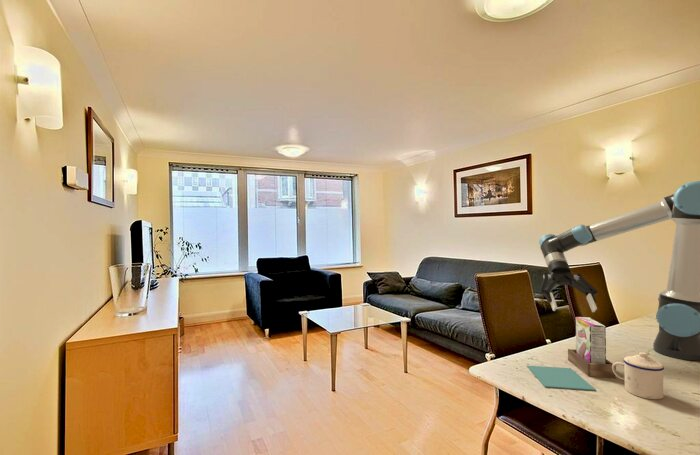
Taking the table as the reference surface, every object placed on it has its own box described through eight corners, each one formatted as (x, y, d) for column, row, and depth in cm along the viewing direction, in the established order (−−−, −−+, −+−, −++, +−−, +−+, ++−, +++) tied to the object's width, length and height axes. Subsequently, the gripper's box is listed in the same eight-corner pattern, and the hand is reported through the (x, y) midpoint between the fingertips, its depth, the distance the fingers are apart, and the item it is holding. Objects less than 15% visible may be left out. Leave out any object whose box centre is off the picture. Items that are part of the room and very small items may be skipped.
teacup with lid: (667, 393, 100) (666, 353, 100) (661, 403, 94) (660, 361, 94) (616, 379, 109) (616, 343, 109) (607, 388, 103) (607, 349, 103)
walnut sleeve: (592, 361, 125) (592, 350, 125) (615, 377, 111) (615, 365, 111) (567, 359, 126) (567, 349, 126) (587, 376, 112) (587, 363, 112)
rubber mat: (570, 369, 117) (570, 368, 117) (595, 390, 102) (595, 389, 102) (527, 366, 120) (527, 365, 120) (544, 387, 104) (544, 386, 104)
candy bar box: (575, 361, 124) (574, 316, 124) (590, 362, 123) (590, 317, 123) (590, 374, 113) (589, 324, 113) (607, 375, 112) (606, 325, 112)
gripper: (587, 271, 144) (607, 316, 129) (523, 270, 149) (536, 313, 134) (593, 260, 139) (615, 305, 124) (527, 259, 143) (541, 302, 128)
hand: (574, 309), depth 129 cm, fingers open, 13 cm apart
